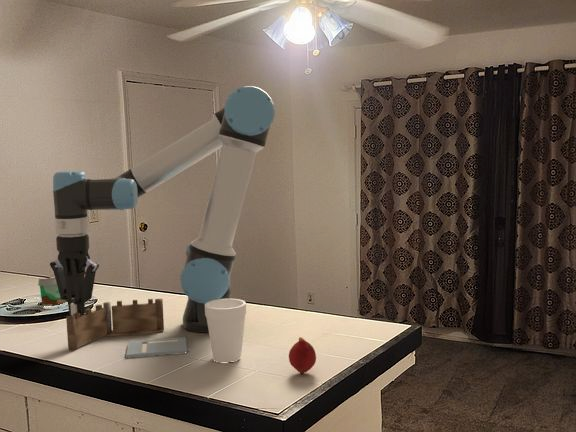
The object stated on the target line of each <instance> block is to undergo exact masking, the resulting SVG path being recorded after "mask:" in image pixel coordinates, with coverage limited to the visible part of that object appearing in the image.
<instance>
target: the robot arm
mask: <svg viewBox="0 0 576 432" xmlns="http://www.w3.org/2000/svg"><path fill="white" fill-rule="evenodd" d="M275 110H276V109H275V105H274V101H273V99H272V97H271V96H270V95H269V94H268V93H267V92H266V91H265V90H263V89H262V88H260V87H257V86H253V85H245V86H240V87H238V88H236V89H235V90H233V91H232V92H231V93H230V94H229V95H228V97H227V99H226V101H225V103H224V106H223V107H222V108H221V109H220V110H218V111H216V112H215V113H213V115H212V118H211V120H209V121H208V122H206V123H204V124H202V125H200V127H198V128H196V129H194V130H193V131H191V132H189V133H187V134H186V135H184V136H183V137H181V138H179V139H178V140H175V141H174V142H173V143H171V144H169V145H168V146H165V148H163V149H161V150H160V151H158V152H157V153H154V154H153V155H151V156H150V157H148V158H147V159H145V160H143V161H142V162H140V163H138V164H136V165H135V166H133V167H131V168H130V169H128V170H127V171H124V172H123V173H122V174H120V175H118V176H116V177H114V178H102V179H89V178H87V177H86V173H85V171H80V170H79V171H77V170H76V171H71V170H70V171H69V170H68V171H67V170H66V171H57V172H56V173H55V172H54V174H53V176H52V178H53V179H52V180H53V181H52V186H53V187H52V188H53V190H52V194H53V206H54V224H55V234H56V235H57V236H56V238H55V241H56V242H55V243H56V251H57V252H58V255H57V258H56V260H54V261H51V262H49V267H50V269H52V271H53V274H54V275H53V276H55V279H56V282H57V286H58V290H59V294H60V297H61V300H66V301H67V302H68V305H67V306H68V316H72V315H73V316H74V314H75V313H80V316H82V315H85V309H86V307H85V304H86V302H87V301H90V300H92V298H93V292H94V285H95V284H94V283H95V280H96V278H95V277H96V274H97V271H98V269H99V268H100V267H99V266H100V264H99V263H98V262H94V261H92V260H91V257H90V253H89V250H90V238H89V237H90V236H89V234H88V233H89V217H88V211H93V210H94V211H96V210H97V211H99V210H100V211H102V210H103V211H107V210H108V211H109V210H114V211H116V210H120V211H123V210H125V211H126V210H133V209H135V208H136V207H137V205H138V204H137V203H138V201H139V200H138V199H139V198H141V197H142V196H144V195H145V194H147V193H148V192H150V191H152V190H153V189H155V188H157V187H158V186H160V185H162V184H163V183H165V182H167V181H168V180H170V179H172V178H173V177H175V176H177V175H178V174H180V173H181V172H183V171H185V170H187V169H188V168H190V167H191V166H193V165H195V164H197V163H198V162H200V161H202V160H203V159H205V158H207V157H209V156H210V155H211V154H212V155H213V153H215V152H216V151H218V150H220V153H219V156H218V162H217V164H216V169H215V172H214V175H213V180H212V184H211V186H210V191H209V196H208V198H207V199H208V200H207V204H206V207H205V210H204V214H203V219H202V222H201V227H200V231H199V234H198V236H197V238H195V239H193V240H192V241H191V242H190V243H188V244H187V245H186V251H185V255H186V258H185V259H186V260H185V263H184V266H183V269H182V271H181V273H180V284H181V285H180V286H181V289H182V291H183V293H184V294H185V295H186V296H187V301H186V305H185V308H184V312H183V316H182V327H183V329H185V330H188V331H191V332H196V333H209V330H208V324H207V318H206V316H205V303H207V302H209V301H212V300H217V299H233V298H232V294H231V293H232V292H231V273H232V270H233V267H234V263H235V259H236V255H237V252H236V251H235V248H233V244H234V239H235V236H236V232H237V229H238V228H237V227H238V224H239V220H240V216H241V213H242V208H243V207H244V202H245V198H246V194H247V192H248V191H247V190H248V187H249V183H250V180H251V179H250V178H251V176H252V172H253V168H254V165H255V164H254V163H255V160H256V155H257V153H259V152H260V151H262V150H264V149H265V146H266V142H267V139H268V135H269V131H270V129H271V125H272V124H273V121H274V119H275V113H276V111H275Z"/></svg>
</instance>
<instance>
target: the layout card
mask: <svg viewBox="0 0 576 432" xmlns="http://www.w3.org/2000/svg"><path fill="white" fill-rule="evenodd" d="M127 344H128V345H127V350H126V354H125V357H126V359H132V358H131V357H135V358H143V357H144V358H145V356H147V357H154V356H155V355H159V356H166V355H165V354H171V355H176V354H175V353H183V354H186V353H185V352H187V353H188V349H187V337H186V336H181V337H179V336H178V337H168V338H156V339H155V338H154V339H143V340H131V341H129V342H128V343H127ZM155 357H156V356H155Z"/></svg>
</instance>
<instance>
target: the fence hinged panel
mask: <svg viewBox="0 0 576 432" xmlns="http://www.w3.org/2000/svg"><path fill="white" fill-rule="evenodd" d="M65 320H66V332H67V333H66V335H67V350H68V351H73V350H76V349H78V348H80V347H83V346H84V345H86V344H88V343H91V342H92V341H95V340H97V339H99V338H102V337H104V336H107V335H106V334H107V319H106V308H104V307H103V304H96V305H95V310H92V308H85V315H82V316H80V313H75V314H74V316H73V315H72V316H71V315H67V316H66V317H65Z"/></svg>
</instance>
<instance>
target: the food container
mask: <svg viewBox="0 0 576 432" xmlns="http://www.w3.org/2000/svg"><path fill="white" fill-rule="evenodd" d="M37 284H38V285H37V286H39V290H40V298H41V304H42V305H41V307H42V308H43V307H44V306H54V305H60V304H63V303H65V302H67V301H66V300H61V297H60V294H59V290H58V286H57V282H56V279H55V275H50V276H48V277H47V278H39V279H38V283H37Z"/></svg>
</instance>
